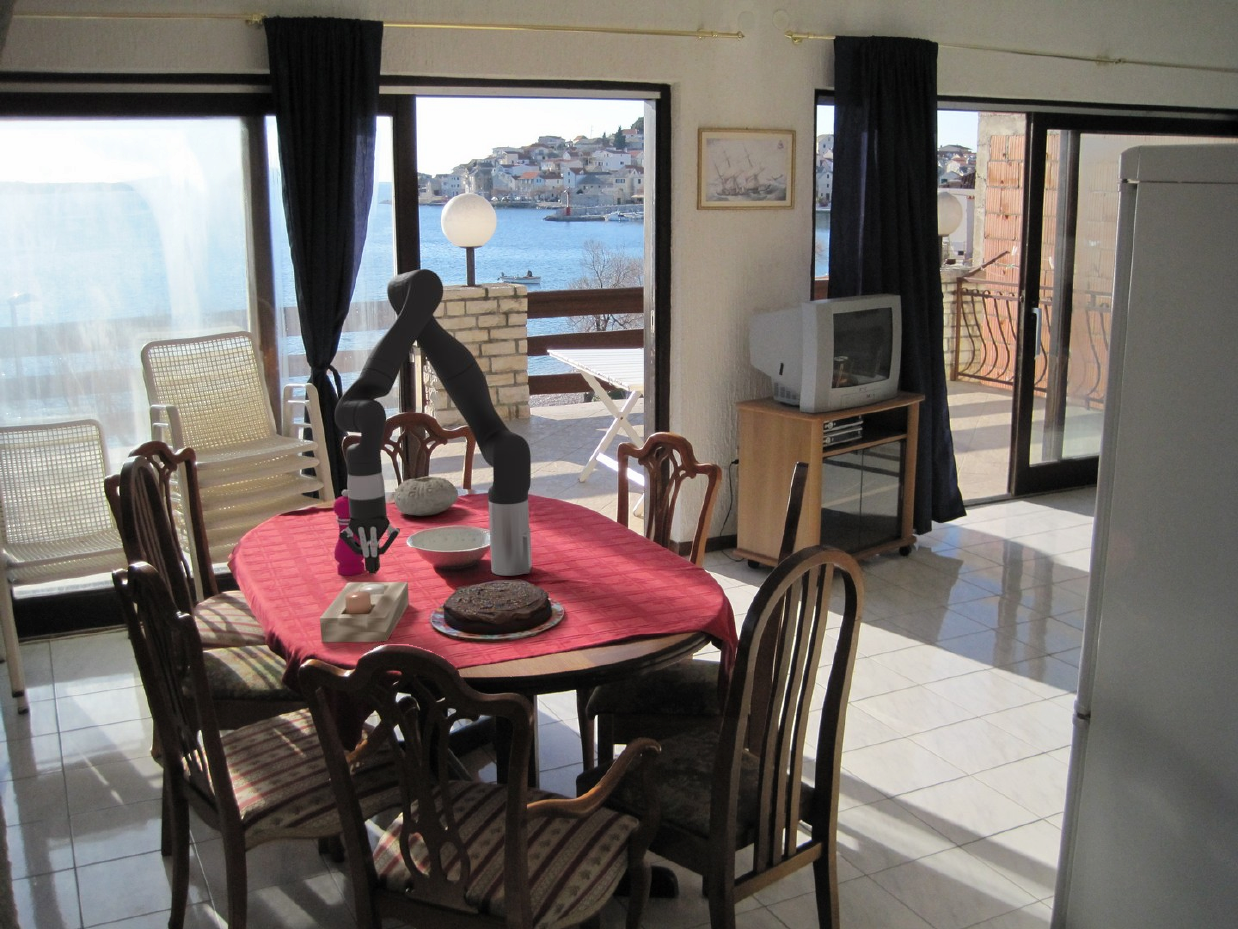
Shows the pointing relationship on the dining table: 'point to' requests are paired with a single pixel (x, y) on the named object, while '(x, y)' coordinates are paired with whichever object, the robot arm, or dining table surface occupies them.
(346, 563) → the pepper mill
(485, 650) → the dining table surface
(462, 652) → the dining table surface
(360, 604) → the terracotta button
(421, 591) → the dining table surface
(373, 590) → the cream button
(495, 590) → the chocolate cake
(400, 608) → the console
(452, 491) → the decorative shell
